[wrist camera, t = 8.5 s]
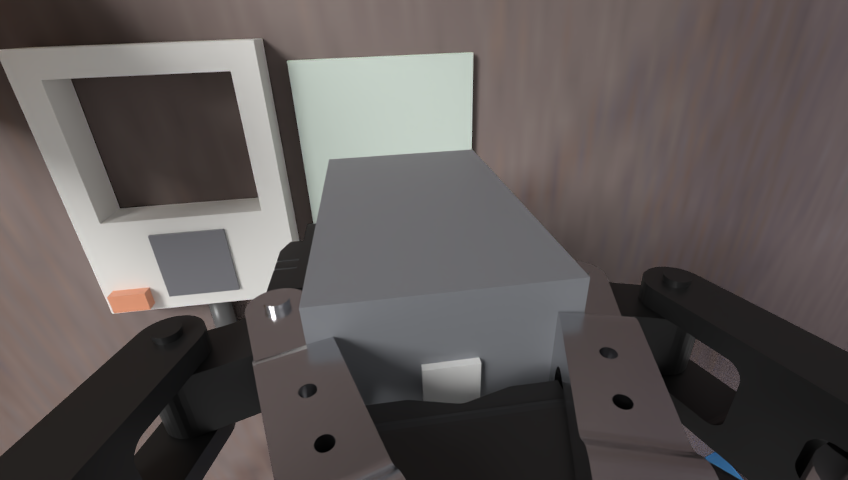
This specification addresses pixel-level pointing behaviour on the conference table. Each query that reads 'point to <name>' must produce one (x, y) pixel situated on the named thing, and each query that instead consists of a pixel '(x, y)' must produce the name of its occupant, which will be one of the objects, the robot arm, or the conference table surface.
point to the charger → (434, 279)
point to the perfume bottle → (722, 464)
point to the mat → (379, 108)
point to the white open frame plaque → (174, 223)
